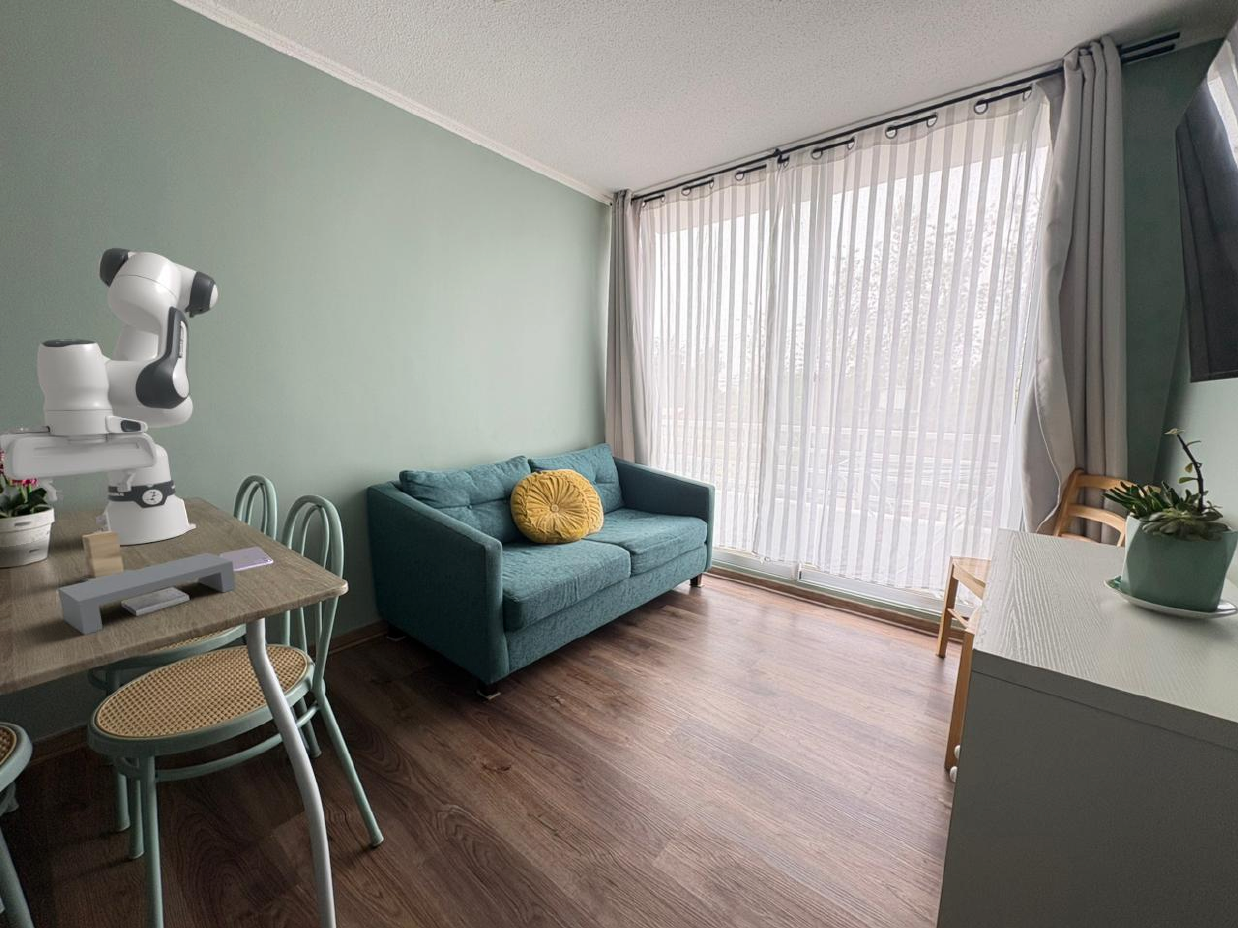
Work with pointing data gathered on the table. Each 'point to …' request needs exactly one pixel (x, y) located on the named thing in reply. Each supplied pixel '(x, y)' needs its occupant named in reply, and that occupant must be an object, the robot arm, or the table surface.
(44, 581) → the table surface
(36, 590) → the table surface
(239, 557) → the mobile phone
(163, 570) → the low shelf
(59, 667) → the table surface
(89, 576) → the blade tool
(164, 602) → the flat gray rectangular block
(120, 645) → the table surface
